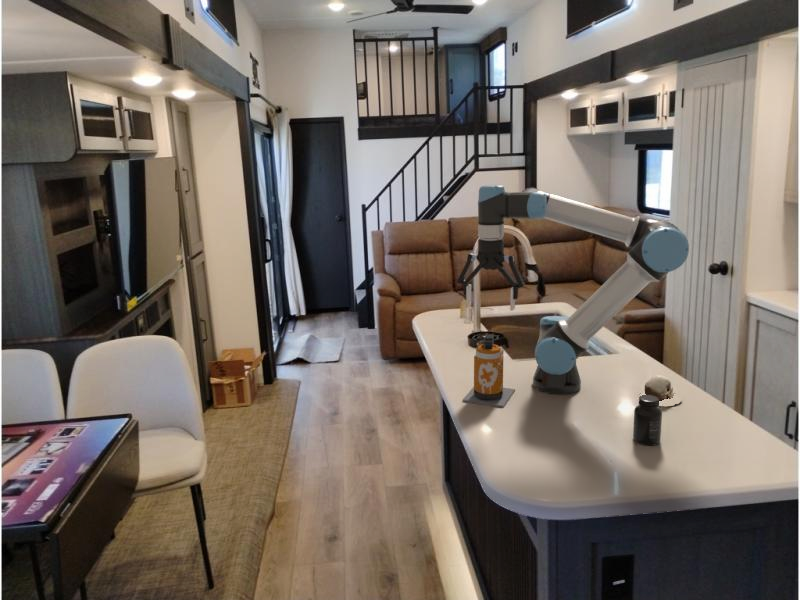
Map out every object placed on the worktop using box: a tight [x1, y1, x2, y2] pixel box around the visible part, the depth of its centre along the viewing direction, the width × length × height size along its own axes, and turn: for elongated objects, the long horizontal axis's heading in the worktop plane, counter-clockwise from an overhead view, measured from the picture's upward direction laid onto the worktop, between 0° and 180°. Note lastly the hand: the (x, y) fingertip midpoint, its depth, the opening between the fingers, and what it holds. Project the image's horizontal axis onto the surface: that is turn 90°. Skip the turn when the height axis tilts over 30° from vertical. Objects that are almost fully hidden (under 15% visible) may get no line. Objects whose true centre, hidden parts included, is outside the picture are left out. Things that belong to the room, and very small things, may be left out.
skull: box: [644, 375, 676, 401], centre depth 192 cm, size 12×10×10 cm
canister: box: [473, 333, 504, 400], centre depth 195 cm, size 9×11×20 cm
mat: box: [462, 386, 516, 408], centre depth 198 cm, size 13×14×1 cm
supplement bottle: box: [632, 395, 663, 446], centre depth 165 cm, size 7×7×12 cm
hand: (490, 307), depth 191 cm, fingers open, 13 cm apart
